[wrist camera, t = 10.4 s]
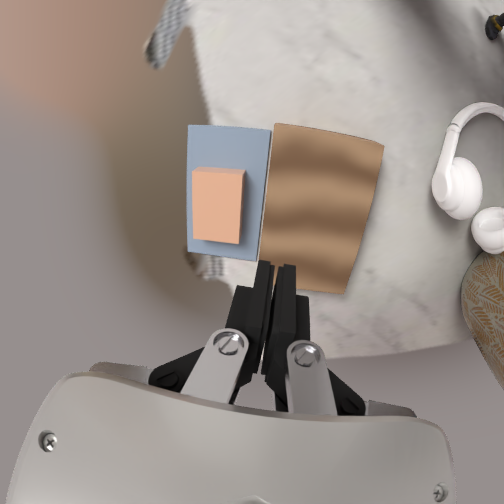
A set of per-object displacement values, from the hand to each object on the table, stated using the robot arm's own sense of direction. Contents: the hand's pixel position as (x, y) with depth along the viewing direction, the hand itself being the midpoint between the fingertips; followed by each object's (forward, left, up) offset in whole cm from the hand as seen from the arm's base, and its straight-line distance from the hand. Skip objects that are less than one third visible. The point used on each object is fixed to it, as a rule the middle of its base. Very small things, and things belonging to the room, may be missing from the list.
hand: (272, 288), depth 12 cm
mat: (+4, -7, -23) cm, 24 cm away
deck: (+4, +5, -23) cm, 24 cm away
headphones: (-8, +29, -24) cm, 38 cm away
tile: (+5, -7, -21) cm, 23 cm away
